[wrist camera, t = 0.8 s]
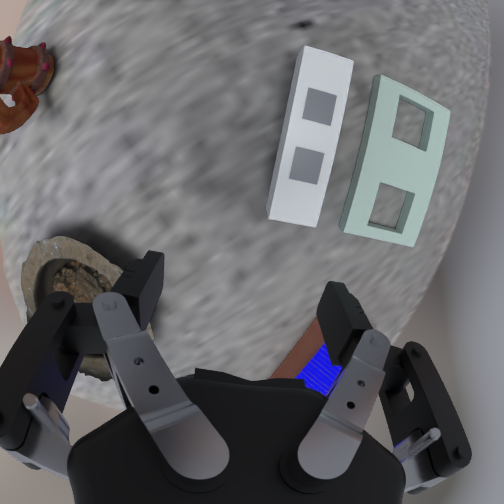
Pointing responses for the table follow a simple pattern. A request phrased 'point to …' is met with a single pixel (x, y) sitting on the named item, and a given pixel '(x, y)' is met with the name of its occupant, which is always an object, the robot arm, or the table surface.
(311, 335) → the house
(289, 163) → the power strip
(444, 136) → the hole board
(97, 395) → the table surface
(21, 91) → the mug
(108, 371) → the stone bowl
